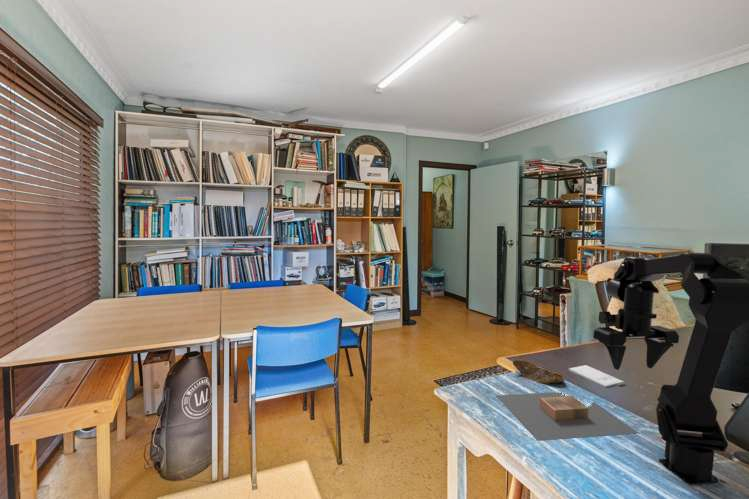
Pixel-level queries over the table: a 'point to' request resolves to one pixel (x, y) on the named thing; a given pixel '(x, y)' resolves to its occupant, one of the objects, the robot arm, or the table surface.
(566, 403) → the walnut slab
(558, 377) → the decorative stone
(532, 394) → the rubber mat
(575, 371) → the external hard drive
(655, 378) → the table surface
